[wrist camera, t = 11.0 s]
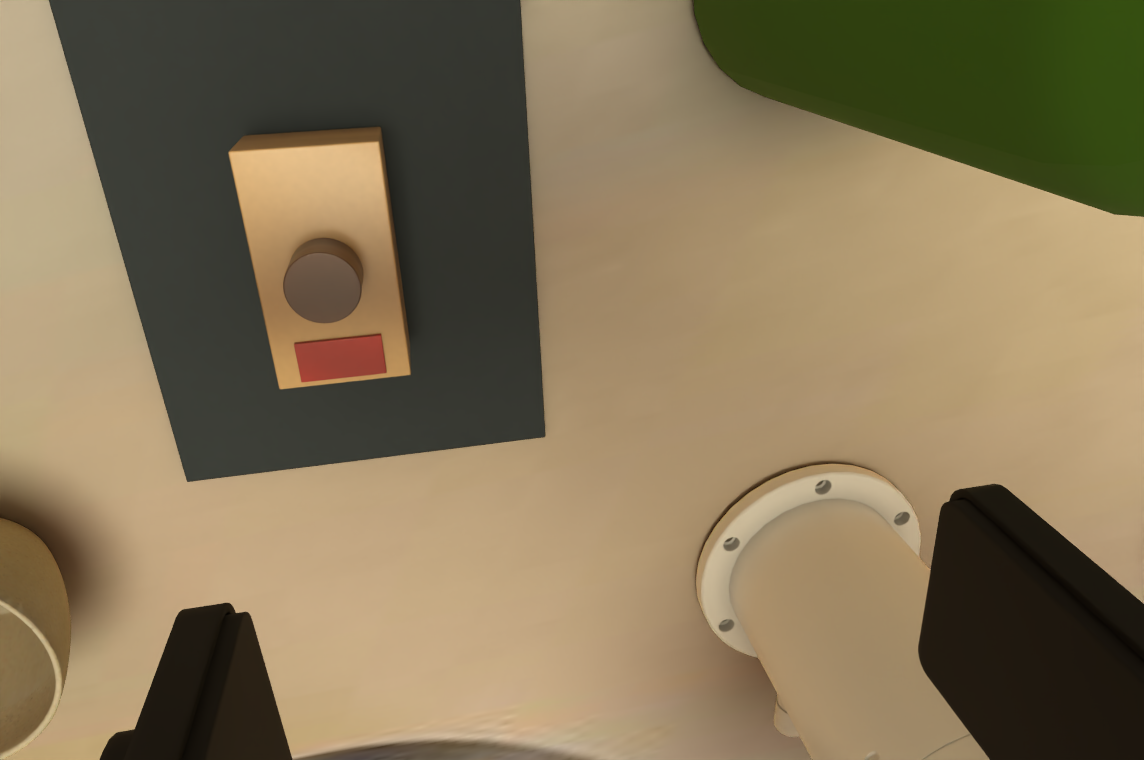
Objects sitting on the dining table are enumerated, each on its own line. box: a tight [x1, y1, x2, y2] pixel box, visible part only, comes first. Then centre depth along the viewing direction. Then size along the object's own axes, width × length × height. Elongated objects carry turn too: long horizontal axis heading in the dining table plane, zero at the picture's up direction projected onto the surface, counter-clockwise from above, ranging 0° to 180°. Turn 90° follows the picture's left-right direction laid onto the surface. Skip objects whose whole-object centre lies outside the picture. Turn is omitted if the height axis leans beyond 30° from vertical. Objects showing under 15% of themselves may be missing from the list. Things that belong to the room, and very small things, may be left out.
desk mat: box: [49, 0, 545, 482], centre depth 34 cm, size 20×16×1 cm
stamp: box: [228, 127, 411, 389], centre depth 31 cm, size 9×5×5 cm, turn 2°
